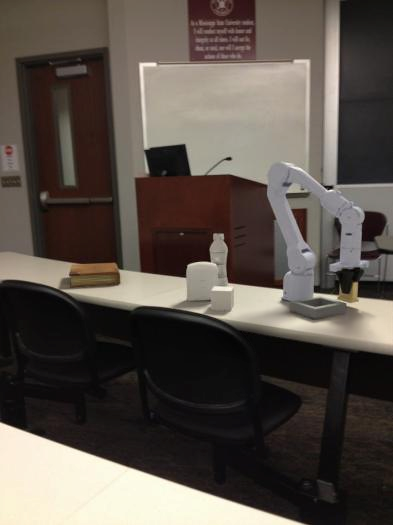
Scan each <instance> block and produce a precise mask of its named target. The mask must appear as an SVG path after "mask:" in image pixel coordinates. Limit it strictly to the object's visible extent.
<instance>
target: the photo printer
mask: <svg viewBox="0 0 393 525" xmlns="http://www.w3.org/2000/svg"><path fill="white" fill-rule="evenodd" d="M186 267H187V268H186V272H185V273H186V274H185V278H186V300H187V301H189V302H194V301H195V302H196V301H197V302H199V301H211V290H212V289H213V287H214V286H218V269H217V266H216V264H214V263H211V261H210V262H209V261H198V262H191V263H189V264H187V266H186Z"/></svg>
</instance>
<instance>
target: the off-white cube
mask: <svg viewBox="0 0 393 525" xmlns="http://www.w3.org/2000/svg"><path fill="white" fill-rule="evenodd" d="M234 299H235V287H234V286H227V287H221V286H214V287H213V289H212V290H211V300H210V308H211V309H210V310H211V311H224V310H226V311H228V312H232V310H233V308H234V305H235V300H234Z"/></svg>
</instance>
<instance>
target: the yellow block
mask: <svg viewBox="0 0 393 525" xmlns="http://www.w3.org/2000/svg"><path fill="white" fill-rule="evenodd" d="M358 288H359V282H355V281H351V283H350V291H349V294H344V293H342V291H341V286H340V285H339V294H338V296H337V298H336V301H340V302H344V303H349V304H353V303H359V300H360V298H359V297H358V292H359V291H358V290H359V289H358Z"/></svg>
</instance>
